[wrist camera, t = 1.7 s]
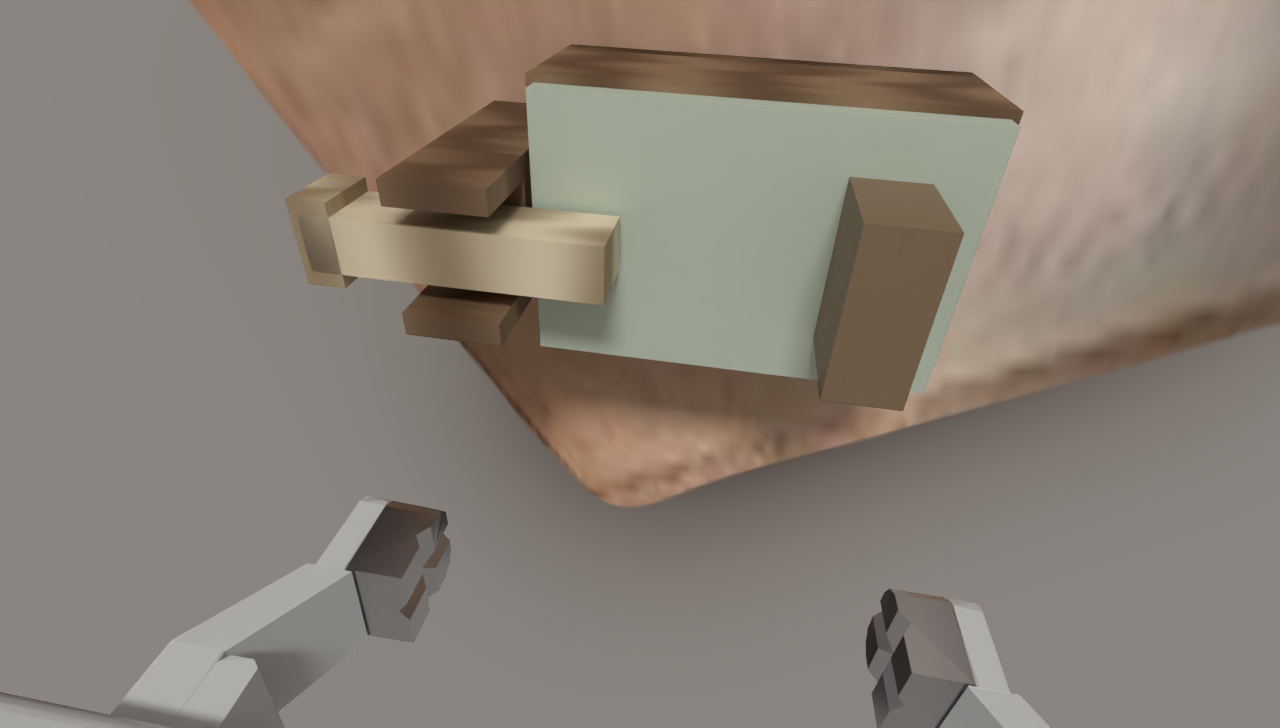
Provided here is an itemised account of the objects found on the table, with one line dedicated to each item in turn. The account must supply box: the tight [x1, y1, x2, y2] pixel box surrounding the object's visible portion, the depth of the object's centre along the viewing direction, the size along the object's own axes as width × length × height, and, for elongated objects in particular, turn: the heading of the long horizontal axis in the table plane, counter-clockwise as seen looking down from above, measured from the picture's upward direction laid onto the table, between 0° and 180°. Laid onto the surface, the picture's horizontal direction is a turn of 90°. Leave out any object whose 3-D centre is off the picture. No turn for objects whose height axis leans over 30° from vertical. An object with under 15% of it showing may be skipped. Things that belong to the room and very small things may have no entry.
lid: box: [526, 82, 1020, 411], centre depth 25 cm, size 17×11×6 cm, turn 87°
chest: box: [376, 45, 1024, 346], centre depth 28 cm, size 22×12×12 cm, turn 87°
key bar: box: [285, 174, 620, 305], centre depth 26 cm, size 12×4×3 cm, turn 87°
